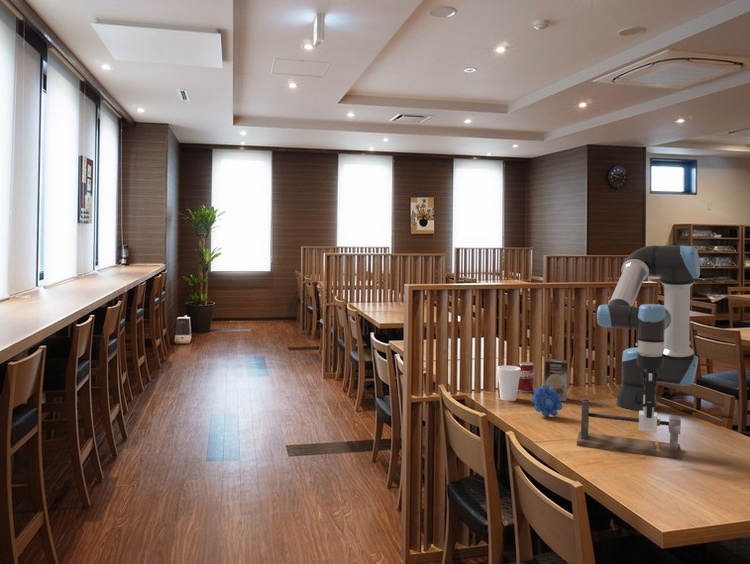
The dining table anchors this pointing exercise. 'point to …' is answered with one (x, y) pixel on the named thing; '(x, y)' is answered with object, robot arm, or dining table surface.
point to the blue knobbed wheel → (547, 400)
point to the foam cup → (508, 382)
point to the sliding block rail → (629, 443)
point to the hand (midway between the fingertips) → (647, 421)
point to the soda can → (526, 377)
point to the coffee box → (556, 376)
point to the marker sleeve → (641, 422)
